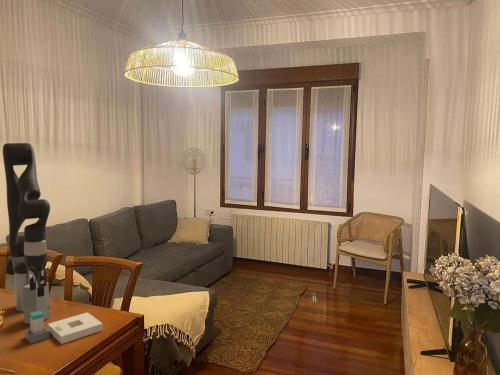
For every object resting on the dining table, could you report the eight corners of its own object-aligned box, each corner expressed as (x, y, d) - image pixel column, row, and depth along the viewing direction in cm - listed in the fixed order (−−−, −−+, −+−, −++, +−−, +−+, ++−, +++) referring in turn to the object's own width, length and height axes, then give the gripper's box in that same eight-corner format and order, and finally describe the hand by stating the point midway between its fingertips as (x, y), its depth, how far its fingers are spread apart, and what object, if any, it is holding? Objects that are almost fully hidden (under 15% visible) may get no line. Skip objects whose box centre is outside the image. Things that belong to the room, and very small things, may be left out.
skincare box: (37, 325, 162) (36, 288, 160) (22, 323, 163) (20, 286, 161) (51, 316, 170) (50, 281, 168) (37, 314, 171) (35, 279, 169)
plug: (30, 337, 152) (29, 313, 151) (40, 334, 154) (39, 310, 153) (33, 341, 149) (32, 316, 148) (43, 338, 152) (43, 313, 151)
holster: (25, 337, 152) (24, 330, 151) (43, 332, 156) (43, 324, 156) (30, 344, 147) (30, 336, 147) (49, 338, 152) (49, 330, 152)
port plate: (48, 330, 157) (47, 323, 157) (87, 318, 169) (87, 312, 169) (61, 344, 148) (61, 336, 147) (102, 330, 159) (102, 323, 159)
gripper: (18, 249, 150) (19, 290, 152) (31, 258, 140) (32, 301, 142) (39, 246, 156) (40, 285, 158) (53, 254, 146) (54, 296, 148)
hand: (36, 293), depth 150 cm, fingers open, 8 cm apart
